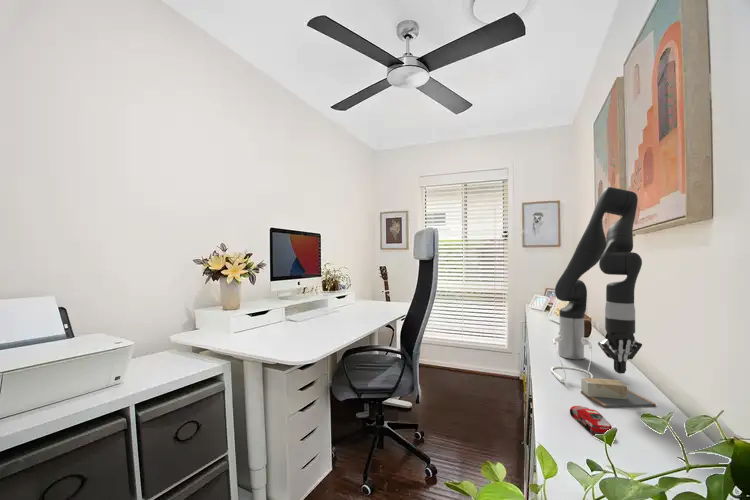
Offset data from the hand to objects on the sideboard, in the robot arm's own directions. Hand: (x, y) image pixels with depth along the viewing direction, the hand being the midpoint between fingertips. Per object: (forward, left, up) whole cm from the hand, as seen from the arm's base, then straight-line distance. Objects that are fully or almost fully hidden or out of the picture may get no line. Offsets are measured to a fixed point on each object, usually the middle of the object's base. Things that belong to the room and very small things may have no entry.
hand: (619, 372), depth 103 cm
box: (-1, +2, -6) cm, 6 cm away
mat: (0, -1, -8) cm, 8 cm away
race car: (+14, -20, -9) cm, 25 cm away
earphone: (-18, -3, -8) cm, 20 cm away
